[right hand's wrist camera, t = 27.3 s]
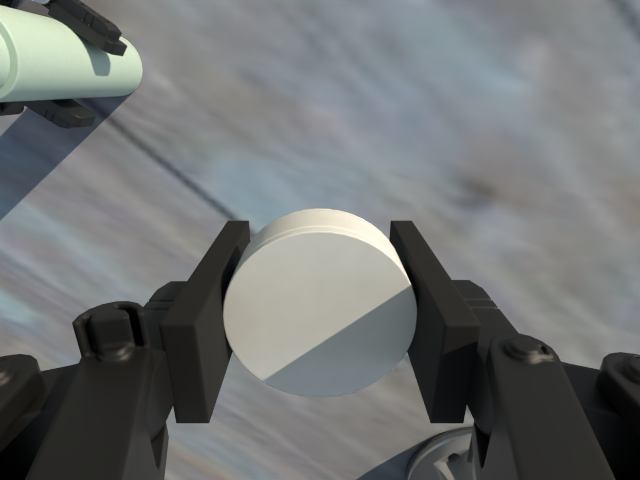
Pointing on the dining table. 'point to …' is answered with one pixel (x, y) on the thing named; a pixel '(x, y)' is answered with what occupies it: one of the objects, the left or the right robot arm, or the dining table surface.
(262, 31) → the dining table surface
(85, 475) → the right robot arm
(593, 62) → the dining table surface
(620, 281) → the dining table surface
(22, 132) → the dining table surface
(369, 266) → the lid
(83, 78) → the pale green cylinder
